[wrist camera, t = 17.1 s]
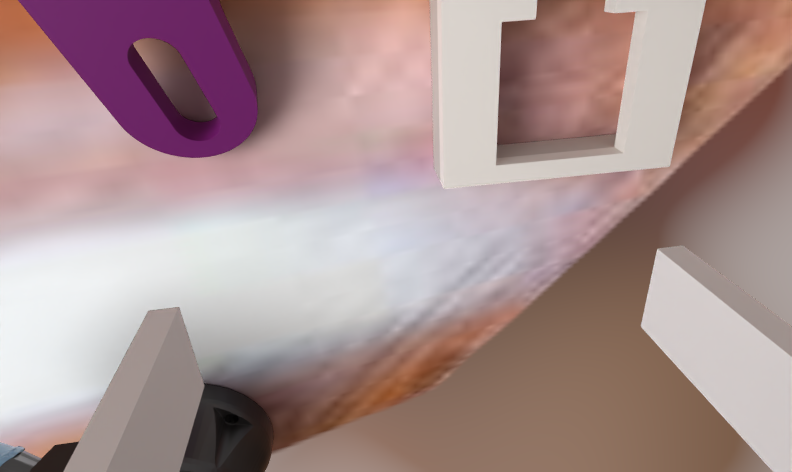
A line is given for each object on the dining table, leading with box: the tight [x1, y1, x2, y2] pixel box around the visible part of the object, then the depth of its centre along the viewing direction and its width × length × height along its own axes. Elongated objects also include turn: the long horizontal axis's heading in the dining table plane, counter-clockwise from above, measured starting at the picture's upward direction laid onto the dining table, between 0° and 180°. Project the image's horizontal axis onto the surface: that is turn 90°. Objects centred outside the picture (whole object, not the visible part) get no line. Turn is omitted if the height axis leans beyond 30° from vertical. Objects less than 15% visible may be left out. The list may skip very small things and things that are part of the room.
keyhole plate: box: [430, 0, 706, 189], centre depth 35 cm, size 24×18×4 cm
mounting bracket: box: [18, 0, 258, 158], centre depth 33 cm, size 9×8×18 cm
